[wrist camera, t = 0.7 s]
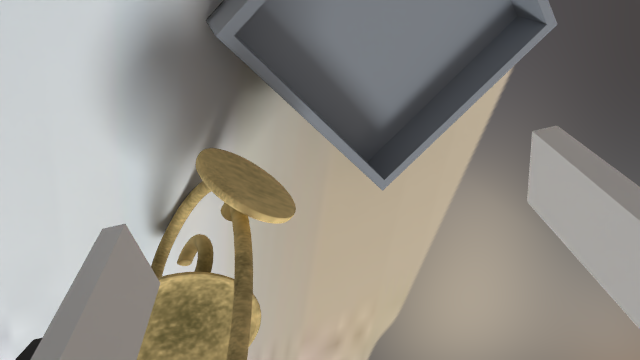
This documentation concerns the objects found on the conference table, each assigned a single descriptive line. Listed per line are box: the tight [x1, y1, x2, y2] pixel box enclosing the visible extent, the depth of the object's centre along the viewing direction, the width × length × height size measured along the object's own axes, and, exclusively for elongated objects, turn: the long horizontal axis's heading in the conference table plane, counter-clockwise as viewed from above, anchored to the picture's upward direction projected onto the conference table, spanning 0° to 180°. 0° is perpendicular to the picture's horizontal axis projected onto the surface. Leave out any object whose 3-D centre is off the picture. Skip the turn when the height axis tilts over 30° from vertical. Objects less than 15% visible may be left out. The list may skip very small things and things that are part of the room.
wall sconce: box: [137, 148, 296, 360], centre depth 23 cm, size 14×10×25 cm
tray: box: [206, 0, 557, 190], centre depth 29 cm, size 17×18×4 cm
